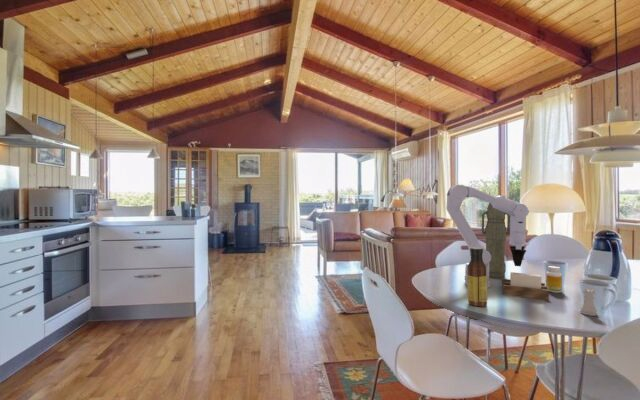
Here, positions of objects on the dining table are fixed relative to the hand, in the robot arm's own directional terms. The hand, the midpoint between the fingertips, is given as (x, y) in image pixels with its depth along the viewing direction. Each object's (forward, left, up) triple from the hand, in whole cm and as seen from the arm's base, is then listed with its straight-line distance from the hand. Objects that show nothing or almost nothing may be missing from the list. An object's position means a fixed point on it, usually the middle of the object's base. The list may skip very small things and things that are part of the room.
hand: (517, 264), depth 146 cm
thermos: (-8, +16, -10) cm, 20 cm away
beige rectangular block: (+2, -12, -8) cm, 15 cm away
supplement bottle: (+13, 0, -10) cm, 16 cm away
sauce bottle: (-14, -34, -10) cm, 38 cm away
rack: (+2, -9, -9) cm, 13 cm away
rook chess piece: (+19, -27, -10) cm, 34 cm away
